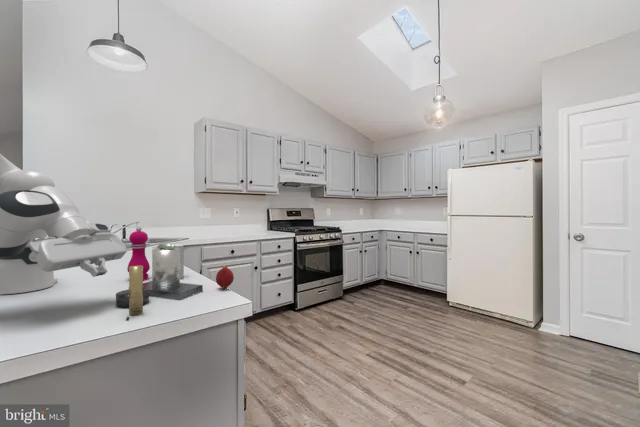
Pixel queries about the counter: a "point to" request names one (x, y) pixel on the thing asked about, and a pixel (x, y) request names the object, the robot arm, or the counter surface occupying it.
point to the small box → (180, 258)
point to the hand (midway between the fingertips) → (100, 274)
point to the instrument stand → (168, 275)
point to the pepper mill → (139, 251)
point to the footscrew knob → (134, 292)
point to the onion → (224, 277)
